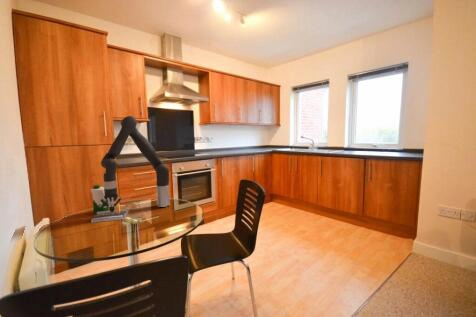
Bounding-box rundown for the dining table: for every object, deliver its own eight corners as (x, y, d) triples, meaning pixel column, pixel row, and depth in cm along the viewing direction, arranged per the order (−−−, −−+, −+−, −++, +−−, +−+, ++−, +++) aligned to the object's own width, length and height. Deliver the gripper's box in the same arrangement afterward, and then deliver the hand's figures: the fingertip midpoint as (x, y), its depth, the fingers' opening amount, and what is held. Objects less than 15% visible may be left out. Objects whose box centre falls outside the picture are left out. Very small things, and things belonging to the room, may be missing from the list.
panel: (128, 212, 157) (128, 210, 157) (125, 219, 145) (125, 216, 144) (97, 215, 151) (97, 213, 151) (91, 222, 139) (90, 220, 138)
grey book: (127, 210, 156) (127, 208, 156) (123, 217, 144) (123, 214, 144) (97, 213, 151) (97, 211, 151) (91, 220, 139) (91, 218, 138)
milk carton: (99, 209, 162) (97, 184, 159) (111, 209, 161) (109, 184, 159) (91, 214, 153) (88, 187, 150) (103, 214, 153) (101, 187, 150)
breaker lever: (122, 212, 151) (122, 203, 150) (121, 214, 148) (121, 205, 147) (115, 213, 150) (115, 204, 149) (114, 214, 147) (113, 205, 146)
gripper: (122, 185, 151) (124, 208, 153) (101, 186, 147) (103, 210, 149) (120, 187, 144) (121, 212, 146) (97, 189, 140) (99, 214, 142)
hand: (112, 211), depth 148 cm, fingers closed
